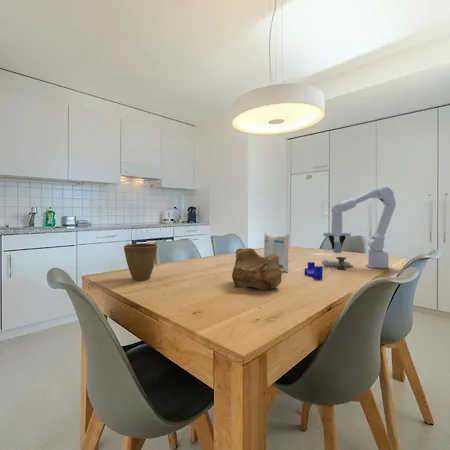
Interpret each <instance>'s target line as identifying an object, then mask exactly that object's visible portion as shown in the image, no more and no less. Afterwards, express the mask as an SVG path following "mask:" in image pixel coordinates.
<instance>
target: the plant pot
mask: <svg viewBox="0 0 450 450" xmlns="http://www.w3.org/2000/svg"><path fill="white" fill-rule="evenodd" d="M123 250H124V255H125V260H126V263H127V264H126V265H127V267H128V271H129V273H130V276H131V278H132V280H133V281H135V282H143V281H148V280H150V279H151V276H152V273H153V270H154V267H155V266H154V265H155V262H156V256H157V250H158V244H156V243H149V242H148V243H130V244H125V245H123Z"/></svg>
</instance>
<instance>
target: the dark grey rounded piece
mask: <svg viewBox="0 0 450 450" xmlns="http://www.w3.org/2000/svg"><path fill="white" fill-rule="evenodd" d="M336 259H337V260H338V261H339V266H338V267H335V268H336V270H342V269H343V270H344V269H345V270H347V267H344V259H345V260H347V257H345V256H336ZM345 270H344V271H345Z"/></svg>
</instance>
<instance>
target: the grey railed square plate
mask: <svg viewBox="0 0 450 450" xmlns="http://www.w3.org/2000/svg"><path fill="white" fill-rule="evenodd" d="M321 263H322V265H324V266H325V268H336V267H338V266H339V260H329V258H324V260H321ZM344 267H346V268H351V267H354V265H352V264H351V263H350V261H348V260H347V259H344Z"/></svg>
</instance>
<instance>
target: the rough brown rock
mask: <svg viewBox="0 0 450 450" xmlns="http://www.w3.org/2000/svg"><path fill="white" fill-rule="evenodd" d="M231 278H232V281H233V284H234V286H235V288H243V287H251V288H254V289H258V290H261V291H267V290H271V289H274V288H277V287H279V286H280V285H281V283H282V269H280V267H279V258H278V256H277V255H275V254H271V255H269V256H267V257H266V258H264V256H262V255H260V254H258V252H257V251H256V250H255V248H251V247H250V248H249V247H248V248H237V249H236V250H235V262H234V267H233V268H232V273H231Z"/></svg>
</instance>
